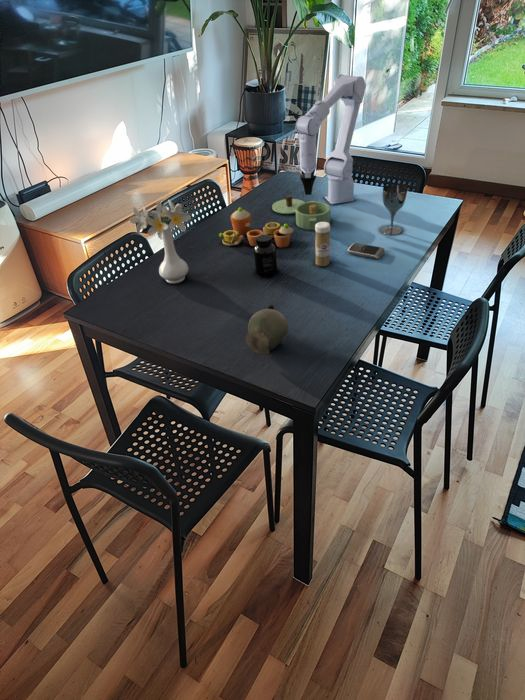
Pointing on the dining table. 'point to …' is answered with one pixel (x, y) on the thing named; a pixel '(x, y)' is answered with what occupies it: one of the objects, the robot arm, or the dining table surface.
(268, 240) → the supplement bottle
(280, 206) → the pot lid
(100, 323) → the dining table surface
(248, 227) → the toy tea set
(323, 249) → the sprinkles bottle
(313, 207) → the masher
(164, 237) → the flower vase
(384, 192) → the wine glass
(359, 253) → the cell phone
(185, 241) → the dining table surface
